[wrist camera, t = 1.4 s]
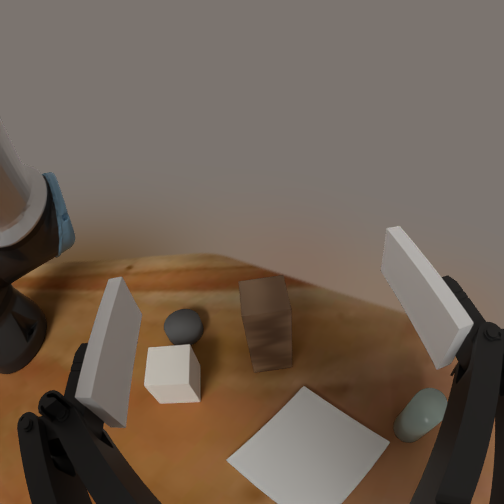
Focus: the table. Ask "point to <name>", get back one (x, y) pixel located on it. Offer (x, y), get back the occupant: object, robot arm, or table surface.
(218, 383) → the table surface
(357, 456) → the grey pad
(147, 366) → the cream cube
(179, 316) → the dark grey pebble
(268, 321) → the walnut block
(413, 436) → the sage green capsule
